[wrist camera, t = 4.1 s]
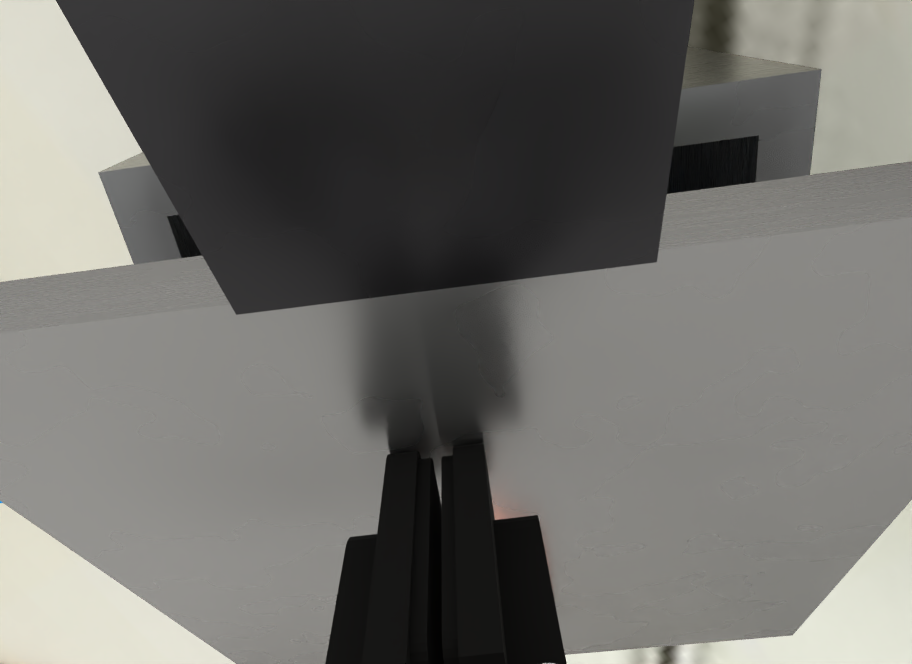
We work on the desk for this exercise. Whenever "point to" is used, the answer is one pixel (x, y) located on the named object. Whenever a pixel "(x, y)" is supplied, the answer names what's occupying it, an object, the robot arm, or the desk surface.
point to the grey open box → (692, 166)
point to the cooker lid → (460, 325)
